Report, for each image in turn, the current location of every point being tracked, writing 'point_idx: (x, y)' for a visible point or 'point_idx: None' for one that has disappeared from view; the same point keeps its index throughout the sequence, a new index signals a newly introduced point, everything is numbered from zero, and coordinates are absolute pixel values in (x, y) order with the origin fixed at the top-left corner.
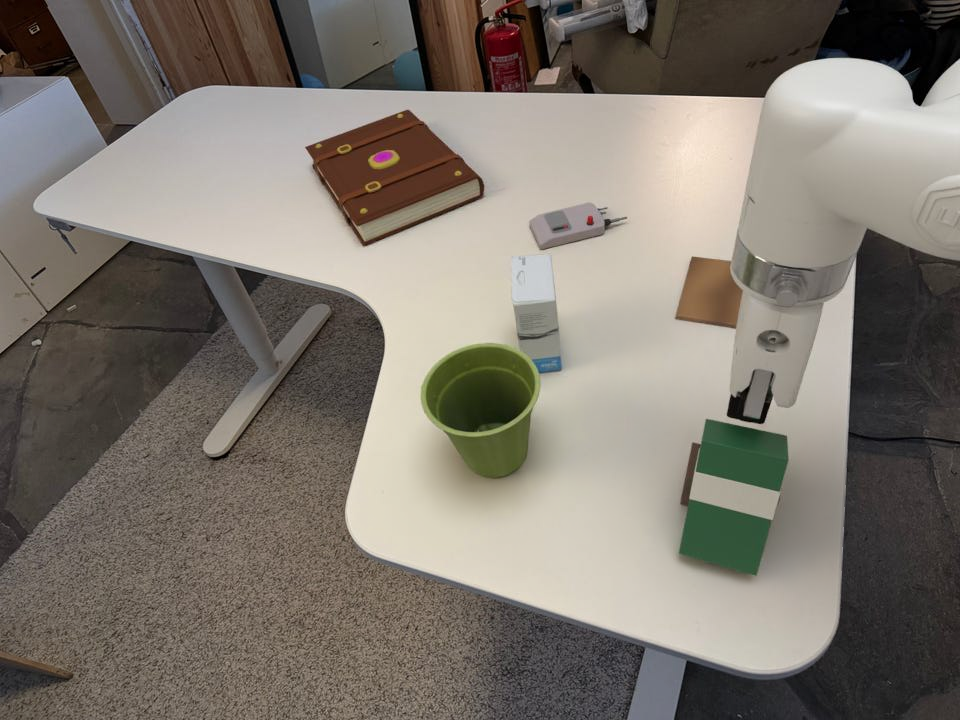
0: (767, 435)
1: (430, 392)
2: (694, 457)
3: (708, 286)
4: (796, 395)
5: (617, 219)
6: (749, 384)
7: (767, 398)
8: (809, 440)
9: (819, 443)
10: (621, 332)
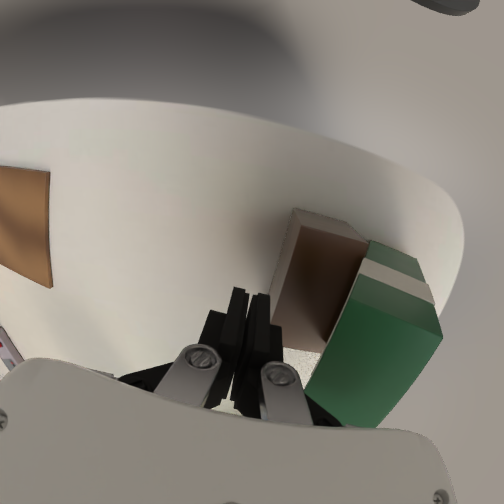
0: (352, 341)
1: None
2: (291, 343)
3: (13, 249)
4: (451, 484)
5: None
6: (249, 413)
7: (327, 421)
8: (205, 143)
9: (209, 131)
10: (85, 340)
